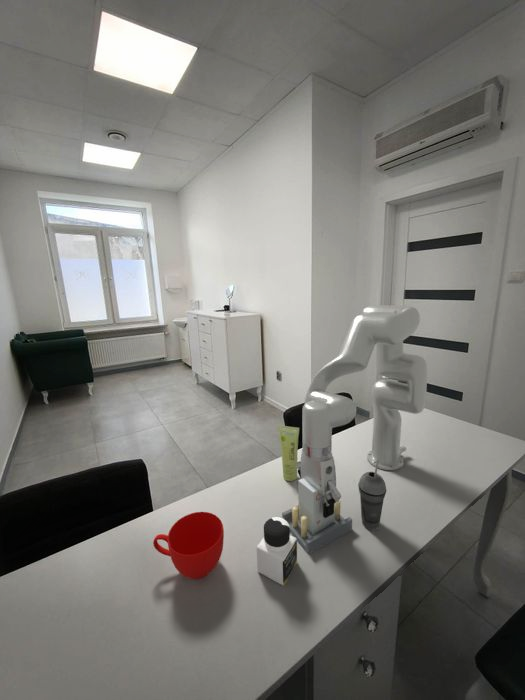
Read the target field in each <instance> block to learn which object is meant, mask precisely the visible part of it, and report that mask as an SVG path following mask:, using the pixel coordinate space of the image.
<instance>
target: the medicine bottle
mask: <svg viewBox="0 0 525 700" xmlns="http://www.w3.org/2000/svg"><path fill="white" fill-rule="evenodd" d="M256 560H257V562H256V563H257V572H258V573H260V574H261V575H263V576H265V577H267V578H269V579H270V580H272V581H274V582H276V583H278V584H279V585H281V586H285V585H286V583H287V581H288V579H289V577H290V575H291V574H292V573H293V571H294V568H295V566H296V565H297V563H298V541H297V539H296V538H295V537H294V536H293V535H292V534H291V532H290V527H289V524H288V522H287V521H286V520H284V519H283V518H282V517H279V516H275V517H274V516H273V517H270V518H269V519H268V520H266V521H265V522H264V525H263V538H262V539H261V541H260V542H259V543H258V544H257V546H256Z"/></svg>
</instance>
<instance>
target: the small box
mask: <svg viewBox="0 0 525 700" xmlns="http://www.w3.org/2000/svg"><path fill="white" fill-rule="evenodd" d="M297 481H298V482H297V484H298V485H297V486H298V487H297V489H298V493H297V494H298V505H299V522H301V517H302V516H306V517H307V529H308V530H309V531H310V532H311V533H312V534H314V535H315V534H316V533H318V532H319V531H321V530H322V529H324V528H325V527H327V526H328V525H330V524H331V523H333V522H334V516H335V503H334V514H333V515H331V516H329V517H327V518H324V517H323V504H324V503H325V502H324V499H323V497H322V495H320V494H319V493H318V490H317V489H316V488H315V487H313V486H312V485H311V484H310V483H309V482H308V481H307V480H305V479H304V478H302V479H301V480H299V479H298V480H297ZM327 490H328V489H327ZM327 490H326V491H327ZM326 496H327V498H328V500H329V499H331V497H330V495H329V493H328V494H326Z"/></svg>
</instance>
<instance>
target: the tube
mask: <svg viewBox="0 0 525 700" xmlns="http://www.w3.org/2000/svg"><path fill="white" fill-rule="evenodd" d="M277 428H278V432H279V440H280V449H281V452H280V453H281V462H282V476H283V477H282V478H283V479H284V481H288V482H293V481H296V480H297V479H298V469H297V465H296V463H297V462H298V452H299V451H298V448H299V447H298V446H299V435H300V427H295V426H287V425H282V424H280V425H279V424H278V426H277Z"/></svg>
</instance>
